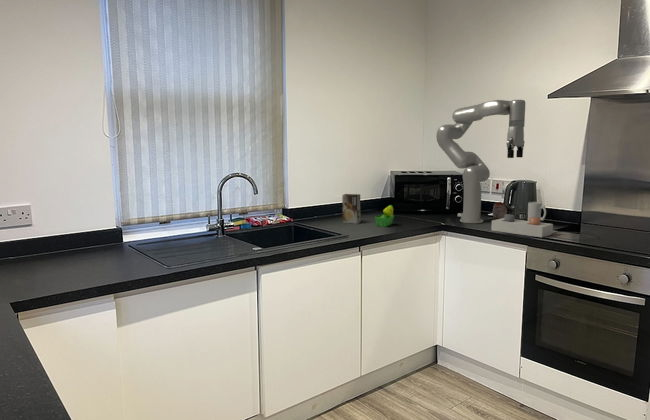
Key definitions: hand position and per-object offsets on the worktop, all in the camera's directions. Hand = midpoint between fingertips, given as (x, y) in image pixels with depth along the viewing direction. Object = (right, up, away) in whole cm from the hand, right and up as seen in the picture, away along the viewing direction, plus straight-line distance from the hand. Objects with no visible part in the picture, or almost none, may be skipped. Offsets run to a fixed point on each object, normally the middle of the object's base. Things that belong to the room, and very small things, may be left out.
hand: (515, 157), depth 256 cm
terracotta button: (+4, -36, -14) cm, 39 cm away
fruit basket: (-66, -36, +14) cm, 76 cm away
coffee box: (-84, -35, +23) cm, 94 cm away
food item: (+4, -33, +34) cm, 47 cm away
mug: (+16, -36, +12) cm, 41 cm away
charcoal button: (-5, -35, -5) cm, 35 cm away
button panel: (0, -38, -9) cm, 39 cm away
